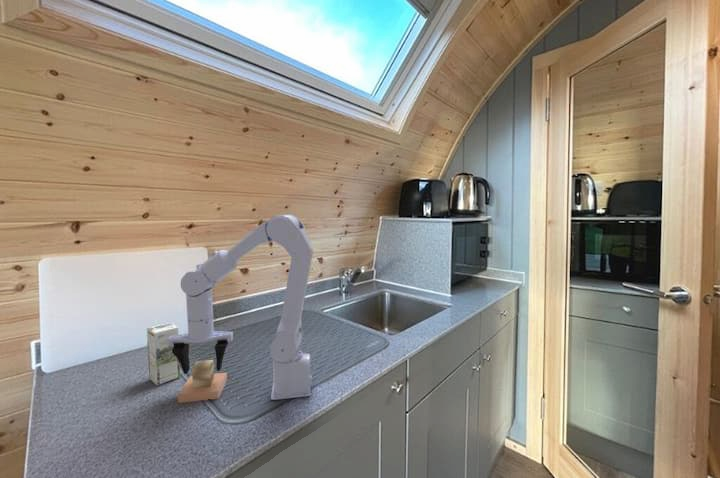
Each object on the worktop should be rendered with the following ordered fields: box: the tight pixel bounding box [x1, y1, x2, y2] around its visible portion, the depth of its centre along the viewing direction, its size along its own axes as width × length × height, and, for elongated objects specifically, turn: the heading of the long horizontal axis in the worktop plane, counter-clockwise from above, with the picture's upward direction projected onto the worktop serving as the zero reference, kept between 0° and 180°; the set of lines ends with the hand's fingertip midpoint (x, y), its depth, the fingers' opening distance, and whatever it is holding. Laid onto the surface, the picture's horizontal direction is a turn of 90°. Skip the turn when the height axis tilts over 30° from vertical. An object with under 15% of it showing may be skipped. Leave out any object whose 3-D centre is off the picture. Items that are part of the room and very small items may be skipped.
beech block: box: [191, 359, 215, 388], centre depth 81 cm, size 4×4×5 cm
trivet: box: [177, 372, 228, 404], centre depth 82 cm, size 9×9×2 cm
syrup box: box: [146, 322, 181, 387], centre depth 87 cm, size 6×6×14 cm
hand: (203, 370), depth 81 cm, fingers open, 7 cm apart
